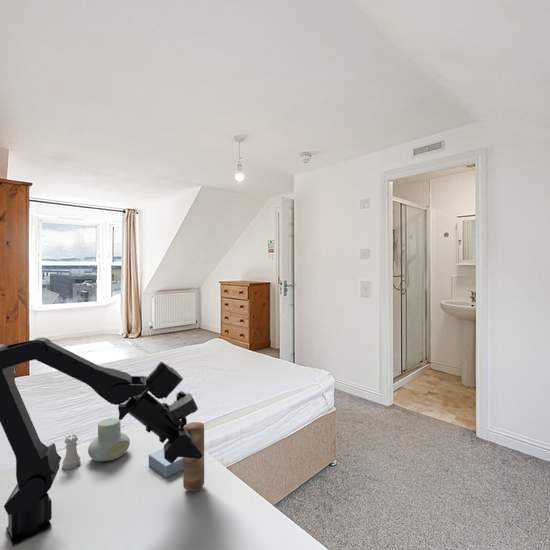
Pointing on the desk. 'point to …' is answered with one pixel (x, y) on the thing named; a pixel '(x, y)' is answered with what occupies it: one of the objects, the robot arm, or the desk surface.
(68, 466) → the rook chess piece
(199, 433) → the walnut pillar
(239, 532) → the desk surface
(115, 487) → the desk surface
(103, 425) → the air freshener
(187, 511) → the desk surface
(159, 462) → the pale blue square tile
